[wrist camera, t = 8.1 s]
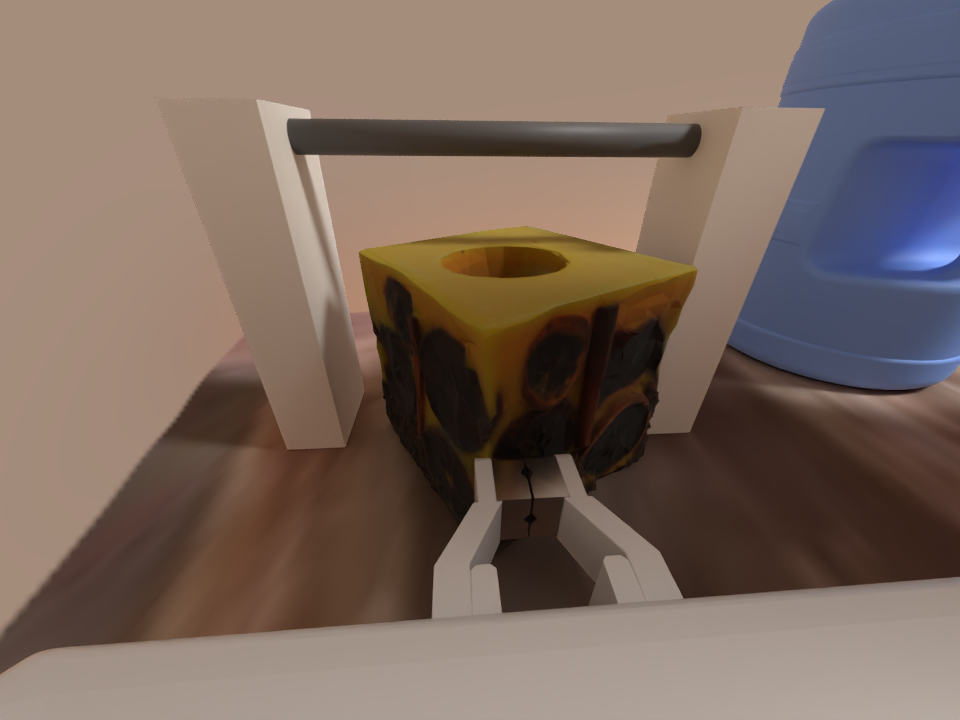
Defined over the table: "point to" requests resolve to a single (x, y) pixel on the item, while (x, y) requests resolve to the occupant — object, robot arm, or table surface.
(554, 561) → the table surface
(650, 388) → the candle
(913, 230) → the water jug
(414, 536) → the table surface
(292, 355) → the frame
